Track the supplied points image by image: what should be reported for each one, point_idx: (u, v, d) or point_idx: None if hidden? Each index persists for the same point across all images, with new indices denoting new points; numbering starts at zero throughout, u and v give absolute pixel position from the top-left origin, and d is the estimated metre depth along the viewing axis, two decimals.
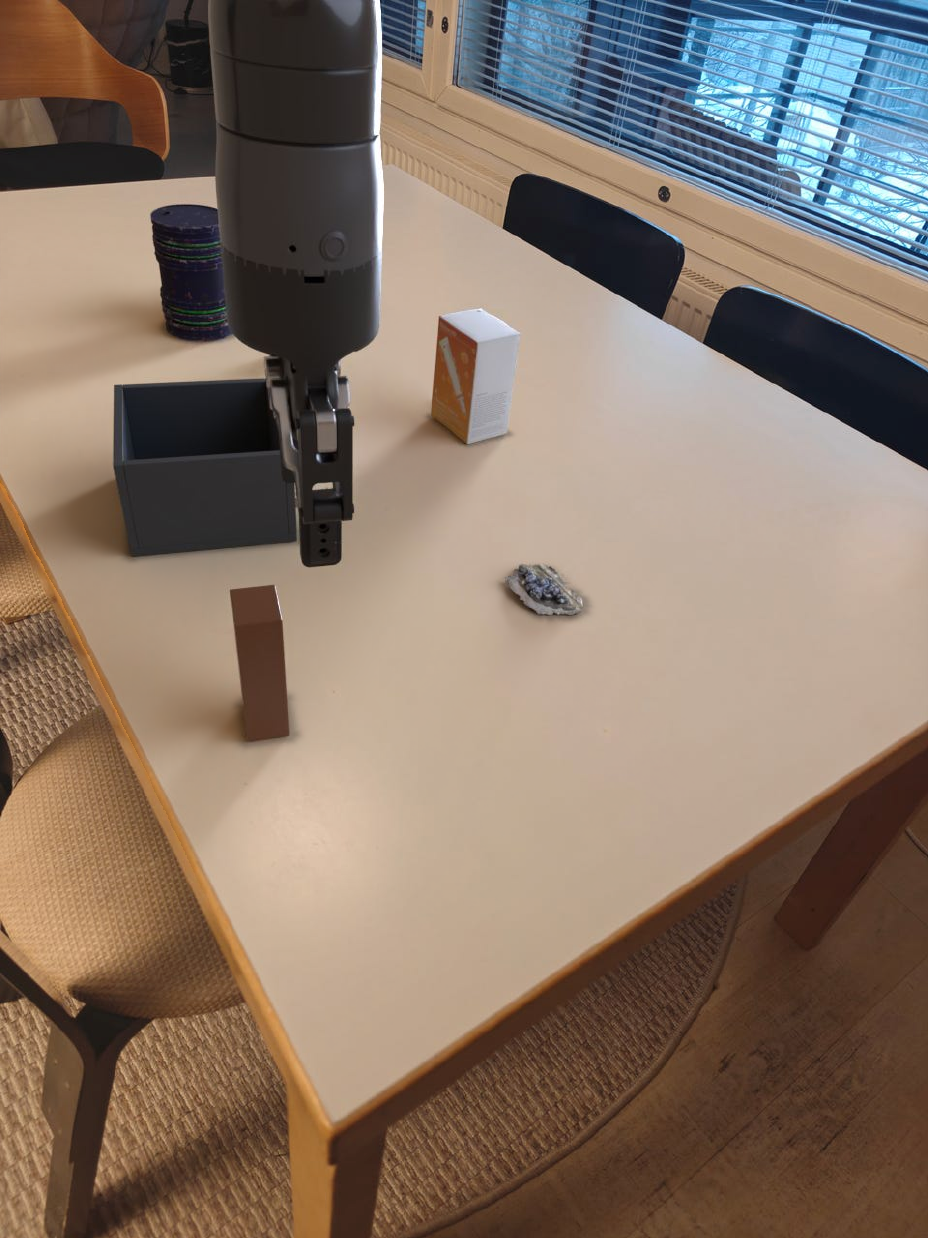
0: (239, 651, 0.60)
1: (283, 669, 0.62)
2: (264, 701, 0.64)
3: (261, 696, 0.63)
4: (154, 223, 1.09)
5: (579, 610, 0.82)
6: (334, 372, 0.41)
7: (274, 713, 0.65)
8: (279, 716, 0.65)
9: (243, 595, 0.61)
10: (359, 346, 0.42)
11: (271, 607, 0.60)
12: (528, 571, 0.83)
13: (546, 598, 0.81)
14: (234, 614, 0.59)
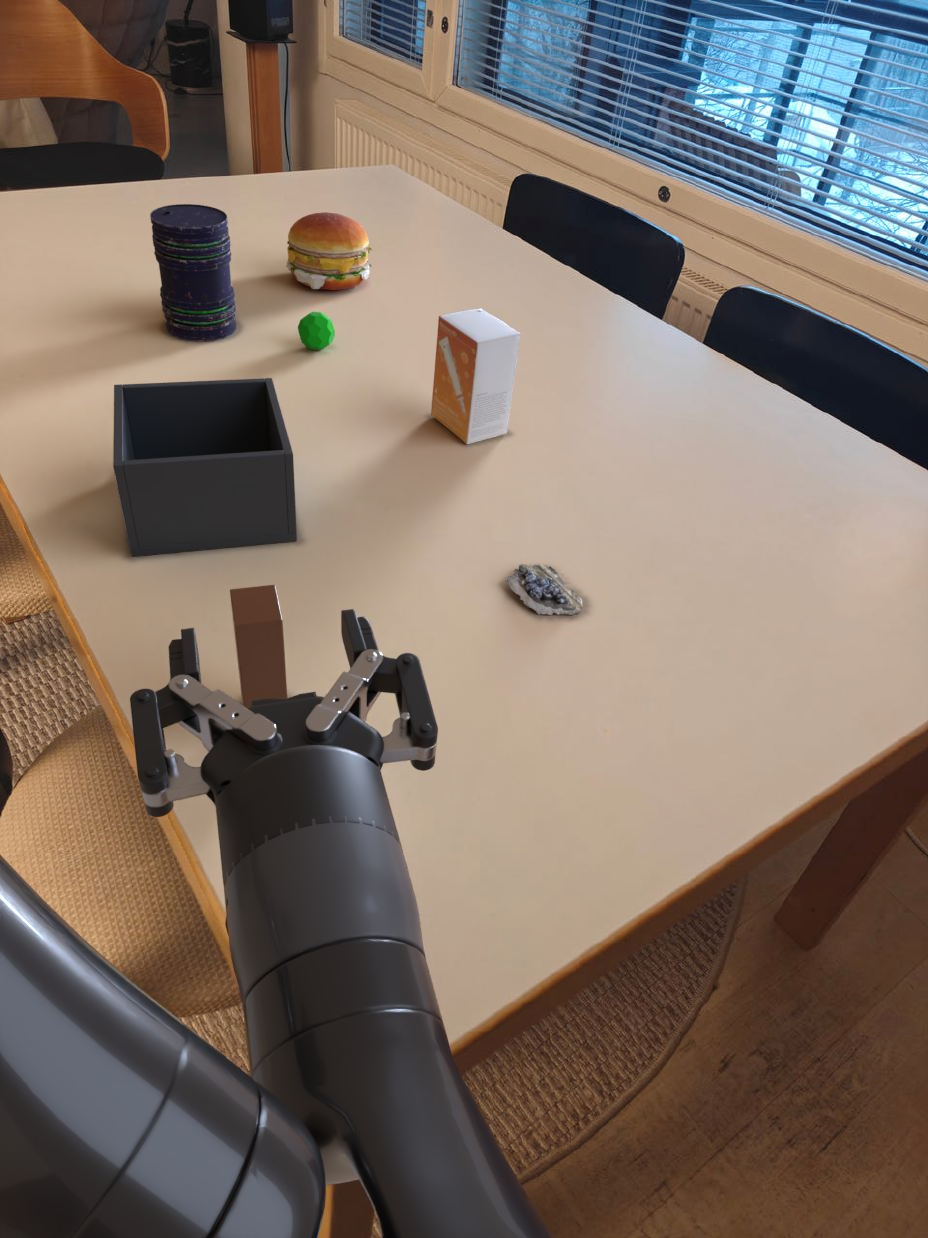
0: (239, 651, 0.60)
1: (283, 669, 0.62)
2: None
3: (261, 696, 0.63)
4: (154, 223, 1.09)
5: (579, 610, 0.82)
6: None
7: None
8: None
9: (243, 595, 0.61)
10: None
11: (271, 607, 0.60)
12: (528, 571, 0.83)
13: (546, 598, 0.81)
14: (234, 614, 0.59)
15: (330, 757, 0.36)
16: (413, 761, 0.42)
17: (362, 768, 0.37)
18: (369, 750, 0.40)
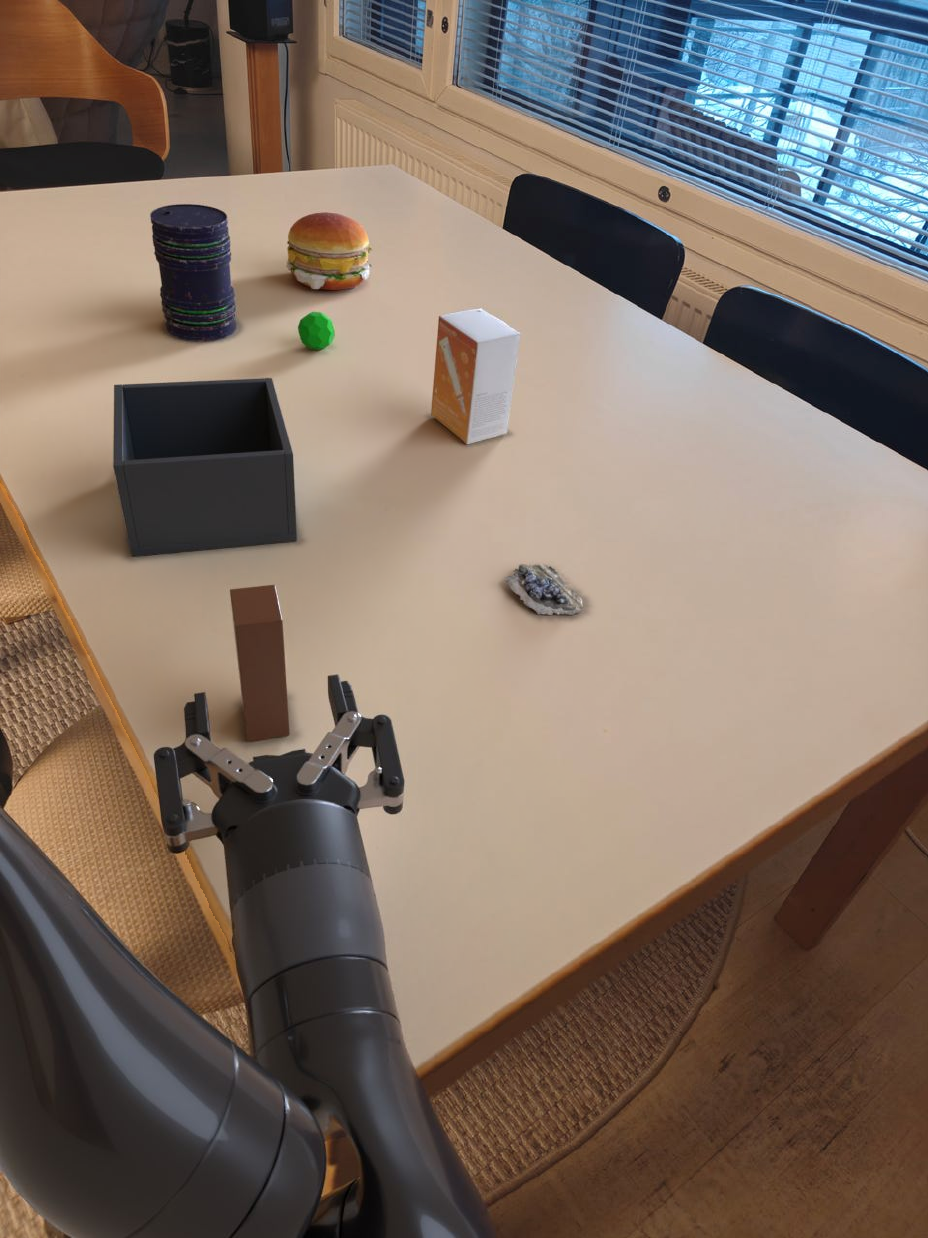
0: (239, 651, 0.60)
1: (283, 669, 0.62)
2: (264, 701, 0.64)
3: (261, 696, 0.63)
4: (154, 223, 1.09)
5: (579, 610, 0.82)
6: None
7: (274, 713, 0.65)
8: (279, 716, 0.65)
9: (243, 595, 0.61)
10: None
11: (271, 607, 0.60)
12: (528, 571, 0.83)
13: (546, 598, 0.81)
14: (234, 614, 0.59)
15: (315, 809, 0.46)
16: (384, 807, 0.52)
17: (341, 817, 0.47)
18: (348, 800, 0.49)
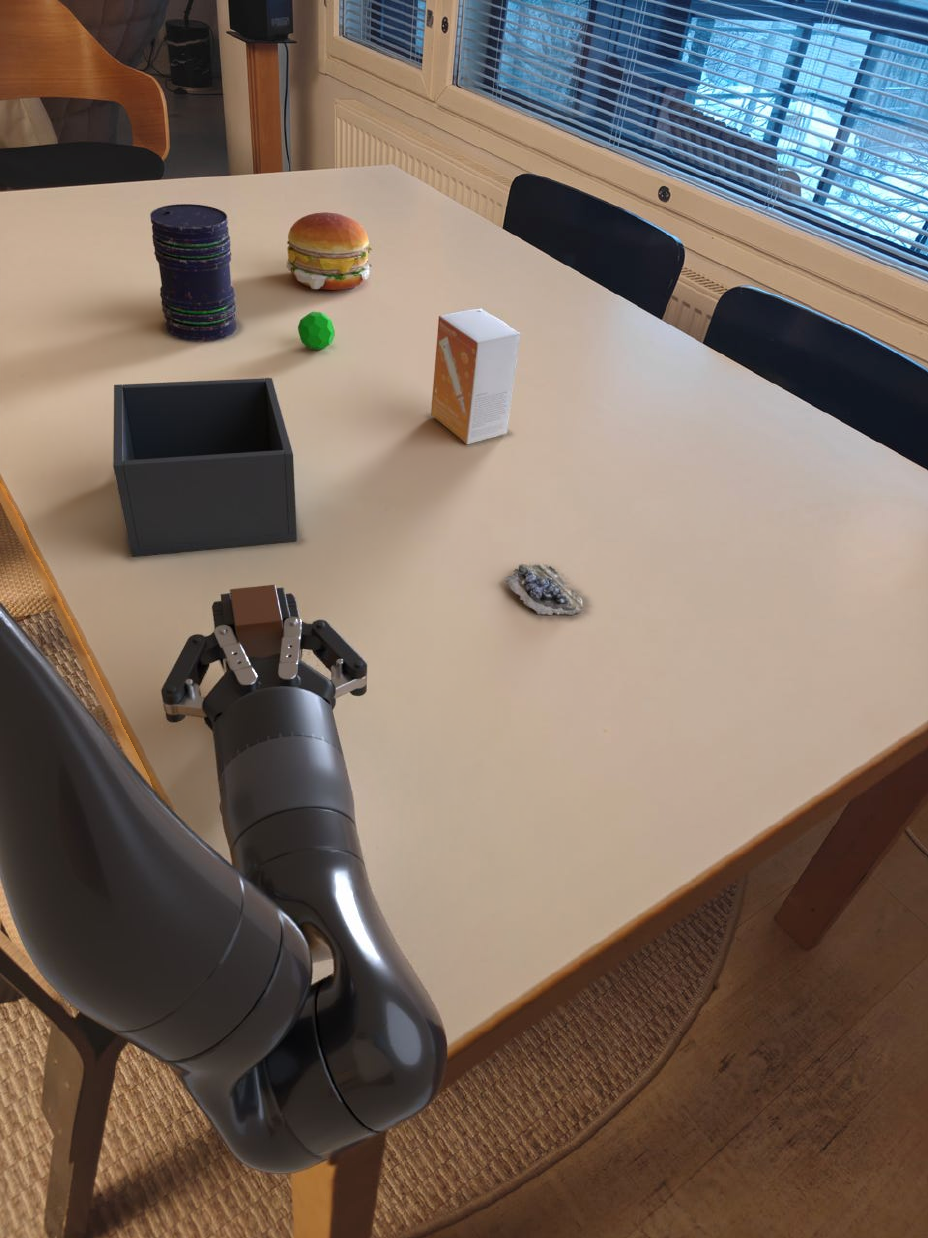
0: None
1: None
2: None
3: None
4: (154, 223, 1.09)
5: (579, 610, 0.82)
6: None
7: None
8: None
9: (243, 595, 0.61)
10: None
11: (271, 606, 0.60)
12: (528, 571, 0.83)
13: (546, 598, 0.81)
14: (234, 614, 0.59)
15: (293, 694, 0.52)
16: (353, 691, 0.58)
17: (316, 703, 0.52)
18: (328, 690, 0.56)
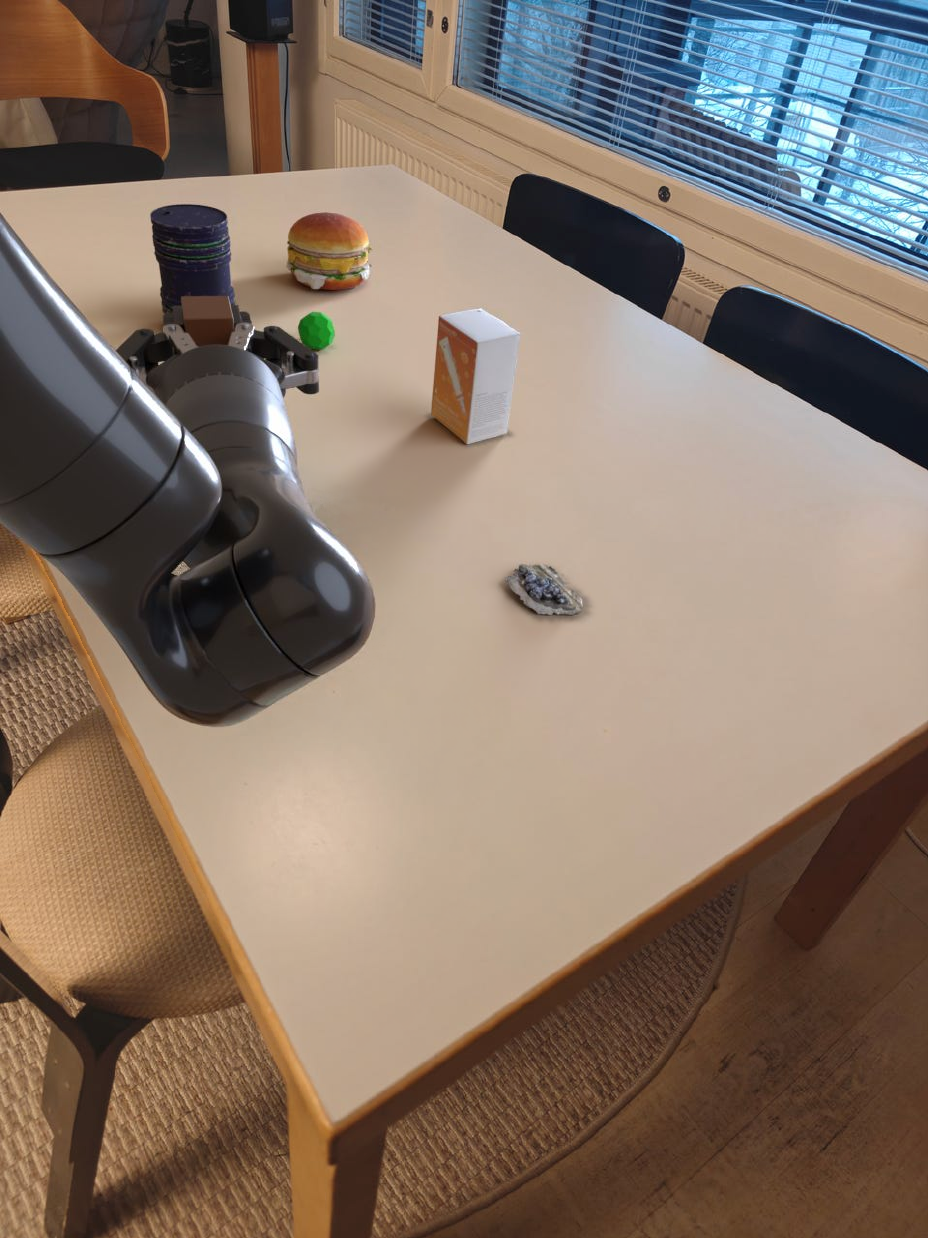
0: None
1: None
2: None
3: None
4: (154, 223, 1.09)
5: (579, 610, 0.82)
6: None
7: None
8: None
9: (194, 300, 0.59)
10: None
11: (223, 309, 0.58)
12: (528, 571, 0.83)
13: (546, 598, 0.81)
14: (184, 311, 0.58)
15: (237, 351, 0.50)
16: (305, 387, 0.57)
17: (261, 364, 0.51)
18: (277, 371, 0.54)
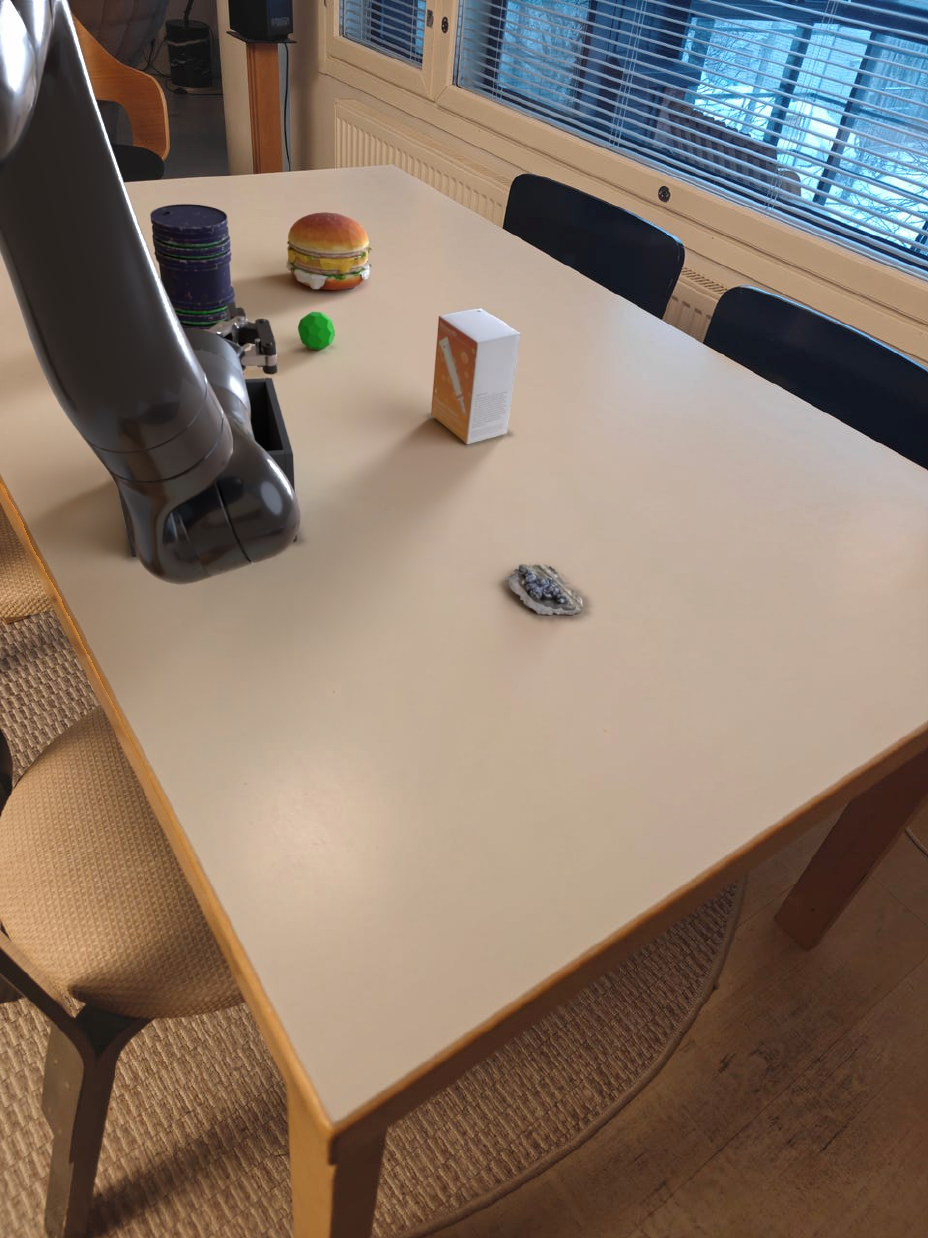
0: None
1: None
2: None
3: None
4: (154, 223, 1.09)
5: (579, 610, 0.82)
6: None
7: None
8: None
9: None
10: None
11: None
12: (528, 571, 0.83)
13: (546, 598, 0.81)
14: None
15: (206, 333, 0.67)
16: (264, 368, 0.73)
17: (225, 343, 0.68)
18: (235, 350, 0.71)
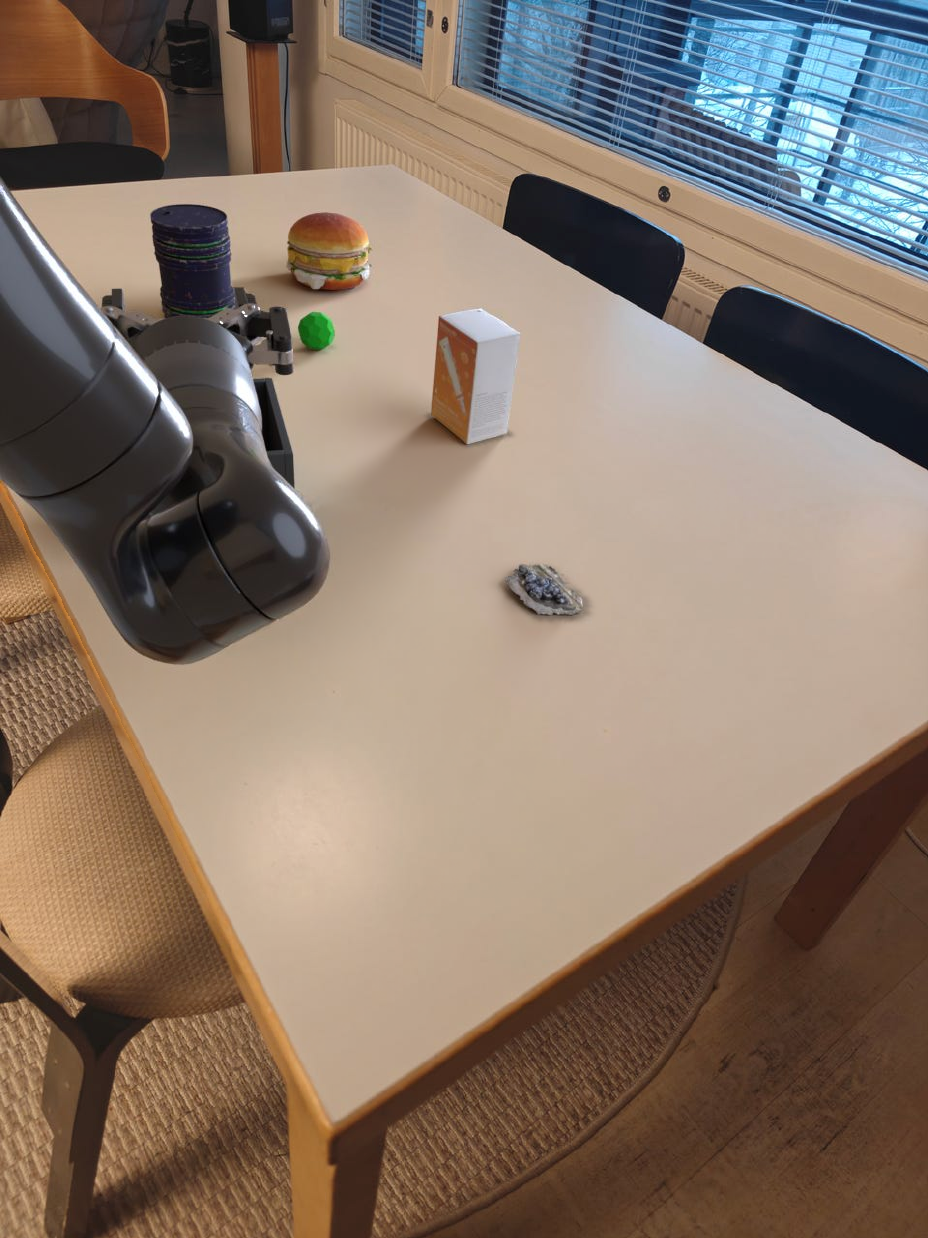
0: None
1: None
2: None
3: None
4: (154, 223, 1.09)
5: (579, 610, 0.82)
6: None
7: None
8: None
9: None
10: None
11: None
12: (528, 571, 0.83)
13: (546, 598, 0.81)
14: None
15: (204, 321, 0.53)
16: (276, 367, 0.59)
17: (228, 334, 0.54)
18: (240, 344, 0.57)
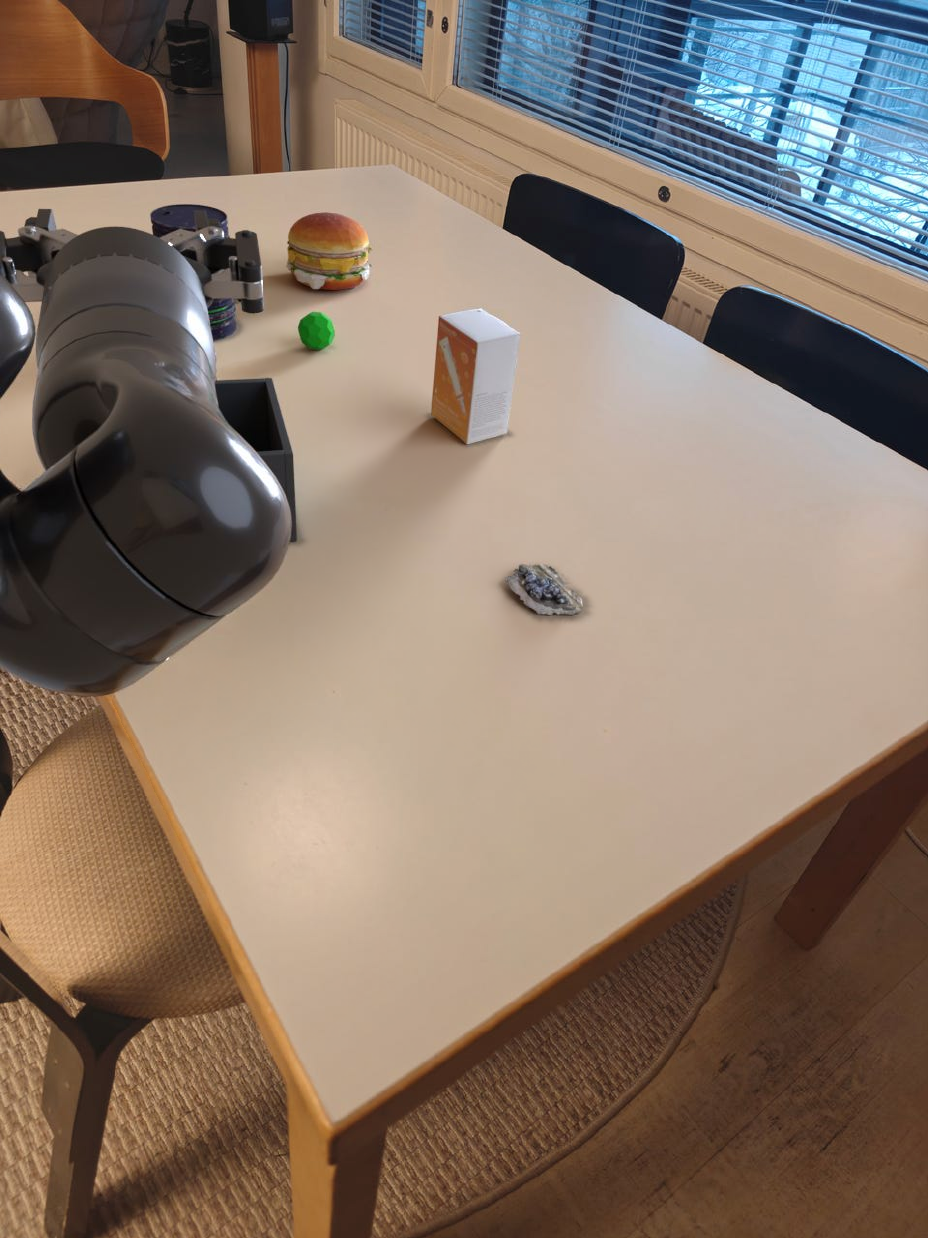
0: None
1: None
2: None
3: None
4: (154, 223, 1.09)
5: (579, 610, 0.82)
6: None
7: None
8: None
9: None
10: None
11: None
12: (528, 571, 0.83)
13: (546, 598, 0.81)
14: None
15: (143, 234, 0.40)
16: (242, 303, 0.46)
17: (175, 253, 0.41)
18: (194, 271, 0.44)
